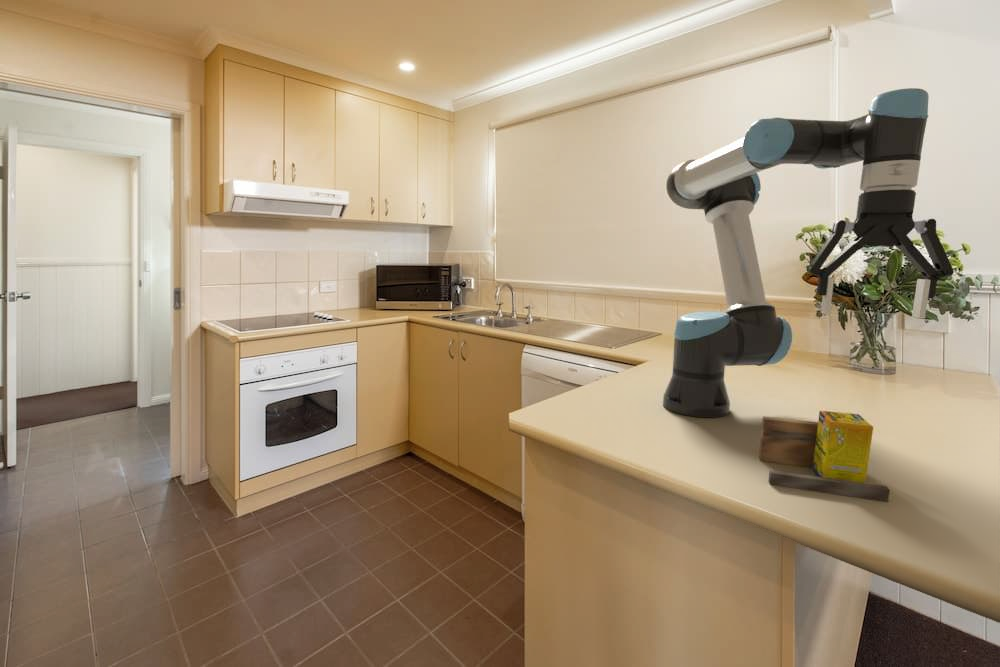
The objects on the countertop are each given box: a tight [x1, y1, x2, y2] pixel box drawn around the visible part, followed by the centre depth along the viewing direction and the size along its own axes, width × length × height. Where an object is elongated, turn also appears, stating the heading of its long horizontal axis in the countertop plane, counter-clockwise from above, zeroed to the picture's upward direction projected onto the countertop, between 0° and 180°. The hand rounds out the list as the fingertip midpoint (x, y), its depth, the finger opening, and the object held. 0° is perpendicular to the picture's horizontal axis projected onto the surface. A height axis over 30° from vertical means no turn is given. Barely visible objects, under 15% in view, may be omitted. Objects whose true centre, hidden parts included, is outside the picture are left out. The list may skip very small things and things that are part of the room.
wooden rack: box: [758, 416, 891, 503], centre depth 80 cm, size 16×11×8 cm
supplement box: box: [812, 410, 874, 483], centre depth 79 cm, size 6×6×11 cm
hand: (870, 316), depth 84 cm, fingers open, 13 cm apart
